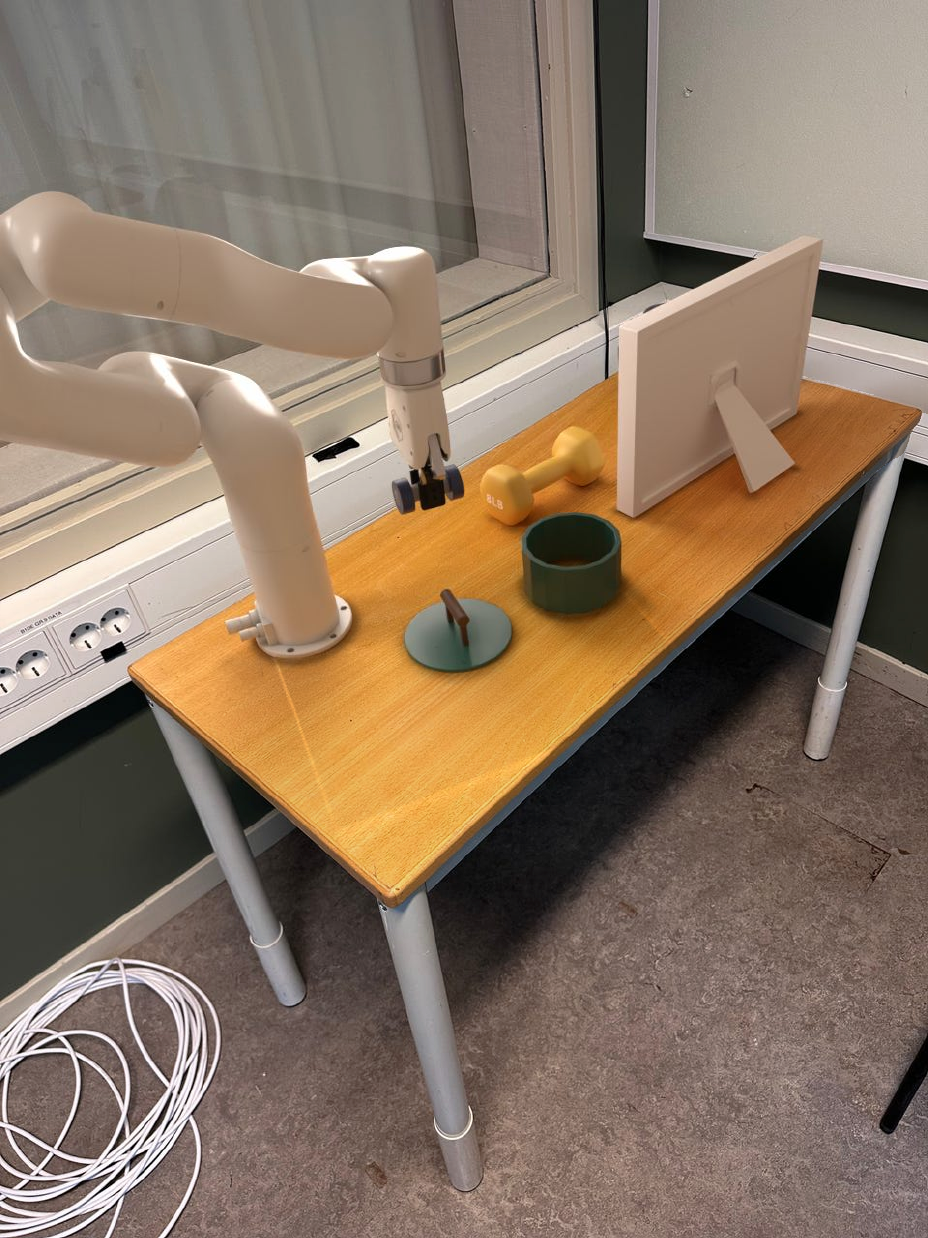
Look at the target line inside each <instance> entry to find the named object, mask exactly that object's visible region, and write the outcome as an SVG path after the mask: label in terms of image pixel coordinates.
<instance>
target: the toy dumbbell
mask: <svg viewBox="0 0 928 1238" xmlns="http://www.w3.org/2000/svg"><path fill="white" fill-rule="evenodd" d="M444 468H445V472H446V477H444V479H443V482H444V491H445V497H446V498H447V499H448V501H450V502H454V501H456V500H460V499H463V498H464V497H465V484H464V480H463V476H462V474H461V471H460V470H459V467H458V466H457V465H456V464H455V463H453V464H449V465H444ZM391 492H392V496H393V499H394V503H395V506H396V508H397V510H398V512H399V514H400V515H402V516H403V515H408V514H410V513H415V511H416V503H418V502H420V498H419V490H418V483H416V484H413V485H411V483H410V482H409V480H408V479H407V477H401V478H398V479H394V480H392V481H391Z"/></svg>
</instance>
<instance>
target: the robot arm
mask: <svg viewBox="0 0 928 1238" xmlns="http://www.w3.org/2000/svg"><path fill="white" fill-rule="evenodd" d="M435 263H436V262H435V261H434V258H433V256H432V255H431V254H430V253H429V252H428V251H426V250H425V249H423V248H420V247H417V246H416V247H415V246H396V247H390V248H386V249H383V250H381V251H378V252H376V253H374V254H373V255H365V256H355V257H354V256H353V257H338V258H336V257H335V258H326V259H319V260H316V261H313V262H311V263H309V264H307V265H305V266H304V267H303V268H302V269H301V270H300V271H296V270H292V269H289V268H287V267H283V266H280V265H277V264H275V263H271V262H268V261H266V260H264V259H261V258H260V257H257V256H255V255H253V254H251V253H249V252H247V251H246V250H243V249H241V248H240V247H238V246H236V245H234V244H232V243H230V242H228V241H226V240H224V239H221V238H218V237H216V236H213V235H210V234H208V233H205V232H204V233H203V232H199V231H196V230H195V231H194V230H189V229H185V228H184V229H183V228H178V227H173V226H168V225H163V224H158V223H153V222H148V221H142V220H136V219H132V218H127V217H124V216H118V215H114V214H109V213H104V212H100V211H94V210H93V209H92V208H91V206H90V205H88V204H87V203H85V201H83V200H81V199H80V198H79V197H77V196H74V195H73V194H69V193H68V192H67V193H66V192H63V191H55V190H50V191H49V190H48V191H43V192H39V193H35V194H32V195H30V196H28V197H26V198H25V199H22V200H21V201H19V202H18V203H16V204H15V205H13V206H12V207H10V208H9V209H7V210H5V211H4V212H3V213H1V214H0V441H1V442H7V443H11V444H17V445H24V446H30V447H37V448H42V449H43V448H44V449H51V450H56V451H62V452H66V453H70V454H74V455H79V456H84V457H85V456H86V457H92V458H95V459H101V460H102V459H103V460H109V461H114V462H119V463H124V464H129V465H136V466H141V467H147V468H158V469H166V468H172V467H173V468H174V467H177V466H179V465H181V464H184V463H185V462H187V461H188V460H189V459H191V458H192V457H193V456H194V455H195V453H196V452H197V450H198V448H199V446H200V447H203V449H204V452H205V453H206V455H207V456H208V458H209V460H210V462H211V463H212V465H213V467H214V470H215V472H216V474H217V477H218V479H219V482H220V485H221V489H222V491H223V496H224V500H225V505H226V509H227V512H228V515H229V519H230V522H231V526H232V530H233V532H234V536H235V539H236V541H237V544H238V546H239V550H240V553H241V556H242V559H243V563H244V565H245V569H246V571H247V574H248V575H247V576H248V578H249V581H250V584H251V587H252V590H253V593H254V597H255V599H256V600H254V601H253V603H254V606H255V608H254V609H251V610H248V614H244V615H242V616H236V617H234V618H231V619H226V620H224V623H225V626H226V629H227V632H228V635H229V636H232V635H235V634H238V635H239V638H240V641H241V642H242V643H243V642H247V641H250V640H252V639H254V638H255V640H256V643H257V645H258V647H259V648H260V649H261V650H262V651H263V652H264V653H266V655H268V656H271V657H273V658H282V659H303V658H308V657H312V656H316V655H319V654H320V653H324V652H325V651H328V650H330V649H331V648H333V647H334V646H336V645H337V644H338V643H340V642H341V641H342V640H343V639H344V638H345V637H346V635H347V634H348V633H349V631H350V629H351V628H352V624H353V613H352V610H351V607H350V605H349V603H348V602H347V601H346V600H345V599H344V598H342V597H340V596H339V595H337V594H335V591H334V587H333V582H332V579H331V574H330V569H329V566H328V563H327V558H326V555H325V550H324V547H323V542H322V539H321V534H320V530H319V525H318V522H317V519H316V515H315V510H314V505H313V502H312V501H313V500H312V498H311V493H310V488H309V487H310V486H309V481H308V471H307V463H306V462H307V461H306V455H305V450H304V447H303V444H302V440H301V439H300V436H299V434H298V432H297V430H296V428H295V427H294V425H293V423H292V421H290V419H289V418H288V417H287V415H286V414H285V413H284V412H283V411H282V409H280V407H279V406H278V405H277V404H276V403H275V401H273V400H272V398H271V397H270V396H269V394H267V392H265V390H264V389H262V387H261V386H260V385H258V384H257V383H256V382H255V381H254V380H252V379H250V378H249V377H247V376H244V375H242V374H239V373H236V372H234V371H230V370H227V369H223V368H218V367H215V366H210V365H207V364H202V363H198V362H193V361H189V360H185V359H181V358H177V357H173V356H168V355H165V354H160V353H155V352H151V351H150V352H149V351H140V350H139V351H138V350H137V351H126V352H121V353H118V354H116V355H113V356H111V357H110V358H108V359H106V360H105V361H104V362H102V364H101V365H100V366H99V367H98V368H97V369H94V368H89V367H86V366H82V365H79V364H75V363H71V362H64V361H57V360H55V361H54V360H40V359H39V360H38V359H35V358H33V357H31V356H29V355H28V354H26V352H25V351H24V350H23V348H22V345H21V341H20V337H19V331H18V328H17V323H19V322H20V321H22V320H23V319H24V318H27V316H29V315H31V314H32V313H34V312H35V311H37V310H38V309H39V308H41V307H43V306H44V305H45V304H47V303H48V302H50V301H53V302H55V303H56V304H57V303H58V304H60V305H63V306H66V307H71V308H76V309H82V310H88V311H94V312H102V313H108V314H114V315H124V316H130V317H136V318H137V317H138V318H144V319H151V320H159V321H164V322H169V323H170V322H171V323H177V324H184V325H191V326H196V327H202V328H205V329H208V330H212V331H215V332H217V333H219V334H223V335H226V336H230V337H235V338H238V339H242V340H246V341H250V342H254V343H257V344H261V345H264V346H267V347H272V348H276V349H279V350H284V351H288V352H293V353H298V354H303V355H310V356H317V357H318V356H319V357H324V358H326V357H327V358H333V359H341V360H359V359H365V358H368V357H372V356H373V355H375V354H377V359H378V367H379V372H380V373H379V374H380V379H381V383H382V384H383V385H385V386H384V389H385V401H386V410H387V421H388V430H389V437H390V440H391V442H392V444H393V445H394V447H395V449H396V450H397V451H398V453H399V454H400V455H401V457H402V458H403V459H404V460H405V461H406V463H407V465H408V469H410V470H409V471H408V472H409V478H410V485H413V484H416V483H418V490H419V498H420V501H419V504H420V509H422V511H424V512H425V511H428V510H432V509H435V508H439V507H442V506H445V505H446V504H447V500H446V494H445V491H444V482H443V479H444V477H446V472H445V468H444V467H445V464H444V462H448V461H449V460H450V458H451V456H452V454H451V453H452V451H451V438H450V430H449V423H448V416H447V409H446V404H445V403H446V402H445V397H444V393H443V387H442V381H443V380H444V378H445V377H446V375H447V370H446V369H447V368H446V360H445V349H444V348H445V347H444V341H443V331H442V321H441V312H440V311H441V310H440V302H439V301H440V299H439V291H438V290H439V289H438V280H437V271H436V264H435Z"/></svg>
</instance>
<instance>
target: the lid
mask: <svg viewBox="0 0 928 1238" xmlns="http://www.w3.org/2000/svg"><path fill="white" fill-rule="evenodd" d="M439 597H440V599H441V600H442V601H439V602H436V603H434V604H431V605H429V606H427V607H425V608H424V609H422V610H420V611H419V612H418V613H417V614H415V615H414V616H413V618H412V619H411V620H410V621H409V622H408V624H407V626H406V628H405V631H404V638H403V639H404V640H403V642H404V645H405V649H406V652H407V654H408V655H409V657H410V658H411V659H412V660H413V661H414V662H416V663H417V664H418V665H420V666H422V667H424V668H426V669H428V670H431V671H435V672H441V673H464V672H470V671H474V670H477V669H480V668H483V667H485V666H487V665H489V664H491V663H492V662H494V661H496V660H497V659H498V658H500V657H501V656H502V655H503V654H504V653H505V651H507V648H509V645H510V644H511V642H512V637H513V625H512V622H511V620H510V618H509V616H508V615H507V613H505V611H504V610H503V609H501V608H500V607H498V606H497V605H495V604H493V603H491V602H489V601H485V600H482V599H477V598H470V597H469V598H466V597H464V598H461V597H459V598H456V596H455V595H454V593H453V591H452V590H451V589H449V588H445V589H442V590H441V592H440V594H439Z"/></svg>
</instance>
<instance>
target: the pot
mask: <svg viewBox="0 0 928 1238" xmlns="http://www.w3.org/2000/svg"><path fill="white" fill-rule="evenodd" d="M622 543H623V542H622V537H621V533H620V530H619V529H618V528H617V527H616V526H615V525H614V524H613V523H612V522H611V521H610V520H608V519H606V518H603V517H601V516H599V515H596V514H593V513H587V512H579V511H571V512H558V513H553V514H551V515H548V516H545V517H542V518H539V519H538V520H536V521H534V522H533V523H532V524H529V526H528V527H527V528H526V529H525V531H524V533H523V534H522V535H521V538H520V544H521V545H520V547H521V561H522V572H523V574H522V575H523V576H522V577H523V589H524V594H525V595H526V597H527V598H528V599H529V601H531V603H532V604H534V605H536V606H538V607H539V608H541V609H543V610H545V611H547V612H551V613H555V614H561V615H578V614H579V615H581V614H587V613H590V612H593V611H596V610H599V609H601V608H604V607H605V606H607V605H608V604H609V603H610V602H612V601H614V599H615V598H617V595H618V593H619V591H620V590H621V587H622ZM566 559H582V560H587V561H592V562H590V563H587V564H583V565H572V566H570V565H569V566H563V565H556V564H550V563H553V562H556V561H558V560H566Z"/></svg>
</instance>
